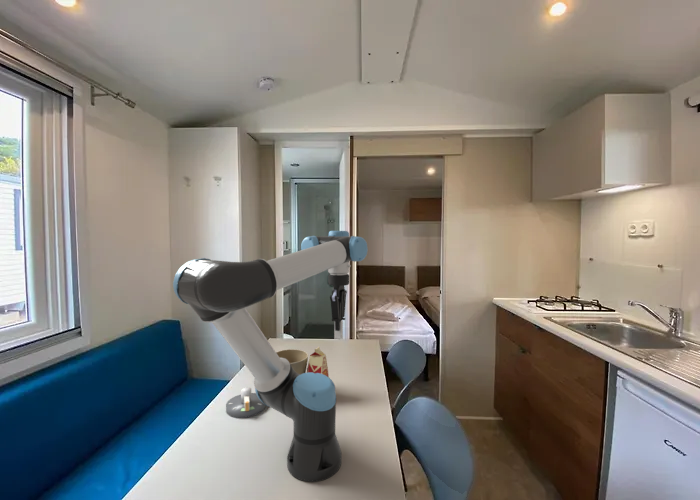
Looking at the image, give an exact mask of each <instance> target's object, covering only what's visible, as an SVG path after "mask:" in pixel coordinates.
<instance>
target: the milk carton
mask: <svg viewBox="0 0 700 500" xmlns="http://www.w3.org/2000/svg"><path fill="white" fill-rule="evenodd" d="M308 372H313V373H321V374H323V375H326V376H327V377H329V378H330V375H329V367H328V359H327V356H326V354H325V353H324V352H323V351H322V350H321V349H320V346H317V348H314V352H313V353H311V354H310V355H309V357H308V362H307V367H306V373H308Z"/></svg>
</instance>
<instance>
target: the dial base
mask: <svg viewBox="0 0 700 500" xmlns="http://www.w3.org/2000/svg"><path fill="white" fill-rule="evenodd" d="M266 407H267V406H266V405H265V404H263V403H262V402H261V401H260V400H259V398H258V397H257V395H256V392H251V402H250V410H249V411H246V410H245V407H244V404H243V403H241V394H238V395H235V396H232V398H230V399H229V400H228V401H227V402H226V404H225V413H226V414H227V415H228V416H229V417H231V418H235V419H244V418H245V419H246V418H251V417H254V416H257V415H259V414H260V413H262V412H263V411H264V410H265V409H266Z"/></svg>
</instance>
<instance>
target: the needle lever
mask: <svg viewBox="0 0 700 500" xmlns="http://www.w3.org/2000/svg"><path fill="white" fill-rule="evenodd" d="M251 393H252V388H251V387H248V386H247V387H243V388H241V390H240V395H241V403H243V404H244V407H245V410H246V411H249V410H250V402H251Z"/></svg>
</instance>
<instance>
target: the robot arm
mask: <svg viewBox="0 0 700 500" xmlns="http://www.w3.org/2000/svg"><path fill="white" fill-rule="evenodd" d="M300 249H301V250H298V251H294V252H291V253H288V254H285V255H281V256H278V257H275V258H272V259H268V260H266V259H264V258H257V259H253V260H249V261H226V260H225V261H224V260H213V259H210V258H205V257H201V258H196V259H191V260H188V261H186V262H185V263H184V264H183V265H181V266H180V267H179V268H178V270H177V271H176V273H175V275H174V278H173V281H172V287H173V292H174V294H175V296H176V297H177V299H179V300H180V302H182V303H184V304H186V305H189V306H190V307H191V308H192V310H193V311H194V312H195V313H196V315H197V316H198V317H199V318H200V320H201V321H202V322H203V323H212V324H213V326H214V327H215V328H216V330H217V331H218V333H220V335H221V336H222V337H223V338H224V340H225V341H226V342H227V343H228V345H229V346H230V348H231V349H232V350H233V352H234V353H235V354H236V355H237V356H238V358H239V359H240V361H241V362H242V363H243V364H244V366H245V367H246V368H247V370H248V371H249V372H250V373H251V375H252V377H254V378H253V386H254V391H255V392H254V393H256V395H257V397H258V398H259V400H260V401H261V402H262V403H263V404H265V405H266V407H269V408H271V409H273V410H275V411H276V412H278V413H280V414H282V415H284V416H286V417H287V418H289V419H291V420H292V421H293V437H292V439H291V440H292V441H291V442H290V446H289V448H288V452H287V457H286V465H287V471H289V473H290V475H291V476H293V477H294V478H295V479H298V480H301V481H303V482H311V483H313V482H319V481H324V480H327V479H329V478H331V477H332V476H333V475H335V474H336V473H337V472H338V471H339V469H340V468H341V464H342V450H341V447H340V444H339V440H338V437H337V435H336V417H337V416H336V412H337V411H336V409H337V394H336V385H335V383H334V381H333V380H332V379H331V377H330V376H329V377H327V376H326V375H323V374H321V373H313V372H308V373H307V372H305V373H303V374H301V375H300V374H298V373H297V372H296V371H295V370H294V369H293V367H292V366H291V364H290V363H289V361H288V360H287V359H285V358H279V356H278V355H277V353H276V352H277V351H275V349H274V347H273V346H272V344H271V343H270V342H269V340H268V339H267V337H266V336H265V334H264V333H263V331H262V330H261V329H260V327H259V326H258V324H257V323H256V321H255V319H254V318H253V316H251V315H252V314H250V312H249V311H248V310H247V308H248V307H251V306H253V305H255V304H258V303H261V302H263V301H265V300H268V299H270V298H272V297H274V296H275V295H276V294H277V292H278V291H279V290H281V289H283V288H285V287H288V286H291V285H293V284H296V283H299V282H301V281H303V280H306V279H308V278H311V277H313V276H315V275H318V274H321V273H323V272H326V271H327V272H328V273H329V274H328V275H327V277H328V279H327V281H328V285H329V286H332V290H331V295H330V296H329V300H330V308H331V321H332V322H334V325H333V327H334V328H333V329H334V331H333V333H334V335H333V336H334V337H333V338H334V340H342V339H343V335H344V334H343V330H344V329H343V328H344V327H343V326H344V325H343V324H344V322H343V321H345V320H346V317H345V316H346V315H345V314H346V304H347V303H346V302H347V301H346V300H347V293H348V291H347V290H346V289H345V286H348V285H349V284H350V274H349V273H350V268H351V266H352V265H351V264H350V262H354V263H355V262H362V261H363V260H365V258H366V257H367V255H368V252H369V250H368V242H367V240H365V238H364V237H362V236H355V235H351V236H350V232H349V231H348V230H330V231H328V235H311V236H309V235H308V236H306V237H304V239H303V240H302V241H301V245H300Z"/></svg>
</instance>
